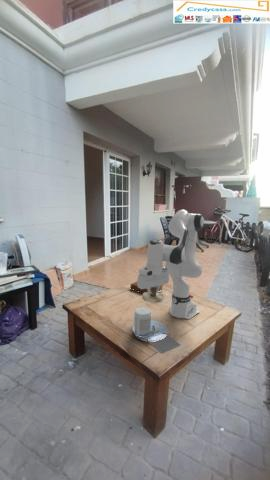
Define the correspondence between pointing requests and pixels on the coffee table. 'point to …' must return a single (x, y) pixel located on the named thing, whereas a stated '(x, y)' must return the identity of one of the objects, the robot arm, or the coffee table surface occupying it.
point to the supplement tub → (142, 322)
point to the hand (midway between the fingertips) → (153, 293)
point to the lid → (153, 296)
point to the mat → (165, 344)
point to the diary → (135, 287)
